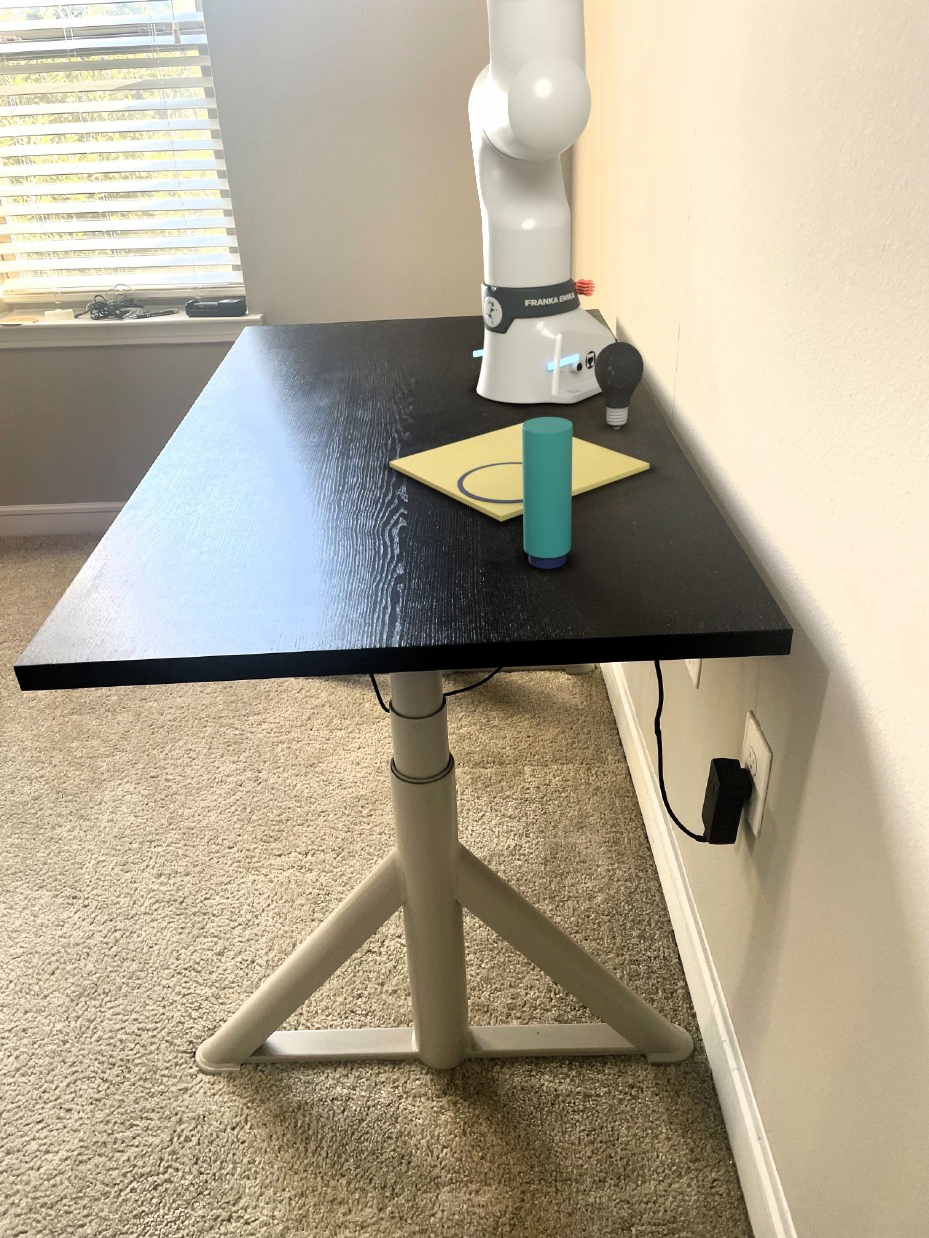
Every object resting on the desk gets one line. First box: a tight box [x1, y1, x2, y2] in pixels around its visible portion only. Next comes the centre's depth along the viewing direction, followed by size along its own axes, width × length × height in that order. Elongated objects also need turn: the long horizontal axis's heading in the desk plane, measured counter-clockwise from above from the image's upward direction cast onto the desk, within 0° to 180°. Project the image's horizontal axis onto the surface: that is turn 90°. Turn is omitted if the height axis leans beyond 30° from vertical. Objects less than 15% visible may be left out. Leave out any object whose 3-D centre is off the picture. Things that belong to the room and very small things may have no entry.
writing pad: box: [388, 422, 650, 522], centre depth 93 cm, size 20×20×1 cm
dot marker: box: [522, 416, 574, 570], centre depth 71 cm, size 4×4×12 cm
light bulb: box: [594, 341, 644, 430], centre depth 100 cm, size 6×6×10 cm
